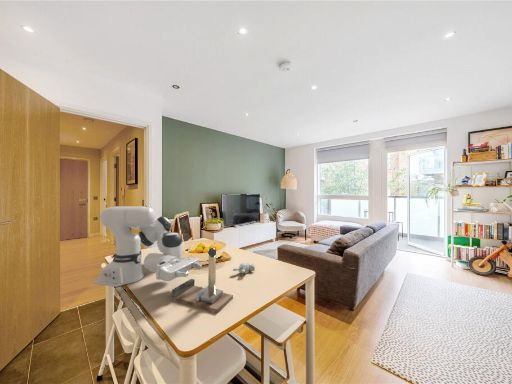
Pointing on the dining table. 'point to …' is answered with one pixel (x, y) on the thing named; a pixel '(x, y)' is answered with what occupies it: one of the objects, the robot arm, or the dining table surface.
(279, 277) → the dining table surface
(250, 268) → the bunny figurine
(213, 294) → the grey upright rod
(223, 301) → the press base
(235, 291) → the dining table surface
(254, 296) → the dining table surface
